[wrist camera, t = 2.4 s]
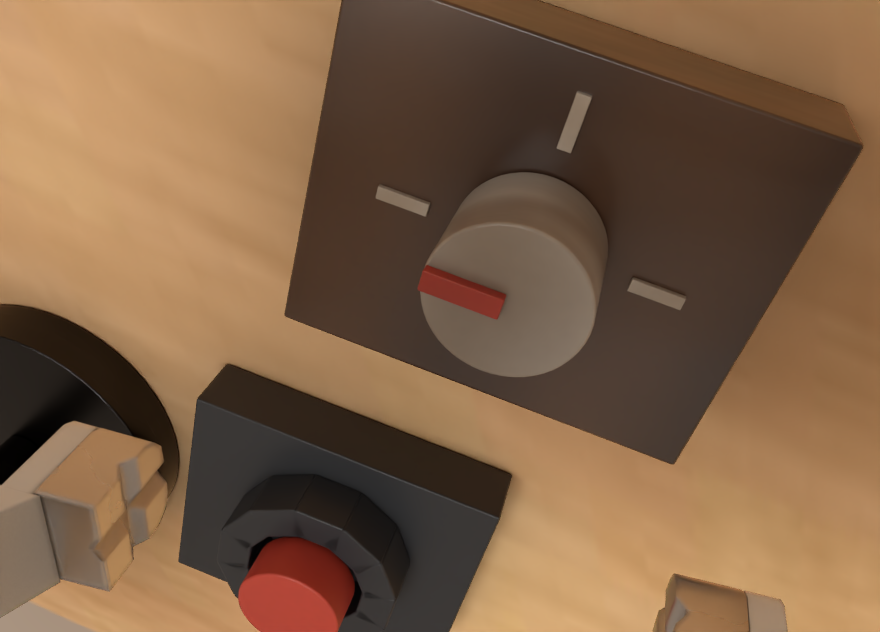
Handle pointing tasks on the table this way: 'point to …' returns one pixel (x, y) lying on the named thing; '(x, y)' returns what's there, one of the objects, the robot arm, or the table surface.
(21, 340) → the desk lamp
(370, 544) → the switch block
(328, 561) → the button
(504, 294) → the dimmer knob
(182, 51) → the table surface
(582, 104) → the panel
